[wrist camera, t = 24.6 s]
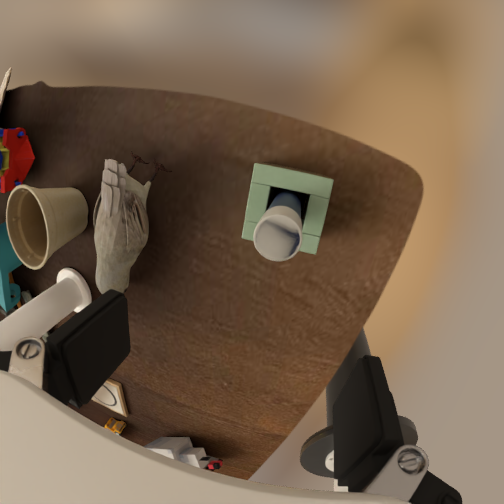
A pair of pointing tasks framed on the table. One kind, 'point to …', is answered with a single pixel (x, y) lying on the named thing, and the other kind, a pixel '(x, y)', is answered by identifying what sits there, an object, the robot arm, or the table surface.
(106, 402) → the framed picture
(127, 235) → the decorative bird
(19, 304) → the pencil
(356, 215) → the table surface
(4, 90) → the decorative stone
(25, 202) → the flower pot
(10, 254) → the teal mechanical bracket
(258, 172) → the pen stand
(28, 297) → the stone
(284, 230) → the marker
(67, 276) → the candle
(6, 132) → the toy train
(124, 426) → the toy bus
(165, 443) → the toy
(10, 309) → the toy gun
